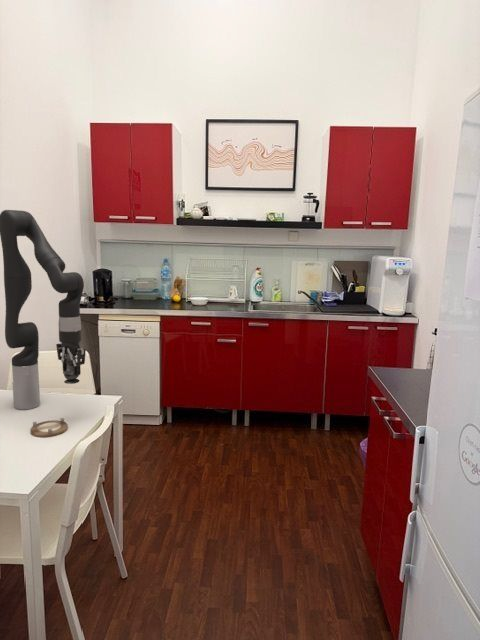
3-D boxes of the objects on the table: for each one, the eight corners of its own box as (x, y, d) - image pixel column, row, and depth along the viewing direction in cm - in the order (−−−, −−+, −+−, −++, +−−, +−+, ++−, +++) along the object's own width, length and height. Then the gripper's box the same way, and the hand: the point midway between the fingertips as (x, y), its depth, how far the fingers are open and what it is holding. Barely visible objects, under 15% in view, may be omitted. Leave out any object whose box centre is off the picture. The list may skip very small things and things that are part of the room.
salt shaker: (74, 384, 162) (73, 352, 160) (59, 383, 163) (58, 350, 161) (83, 379, 167) (82, 348, 165) (69, 378, 168) (67, 347, 166)
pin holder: (23, 431, 156) (23, 424, 156) (54, 420, 166) (54, 413, 165) (43, 440, 149) (43, 433, 149) (75, 428, 159) (74, 422, 159)
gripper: (48, 327, 162) (50, 372, 165) (73, 333, 155) (75, 380, 158) (66, 324, 168) (68, 367, 172) (91, 329, 161) (93, 375, 164)
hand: (71, 373), depth 165 cm, fingers closed on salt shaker, 6 cm apart
